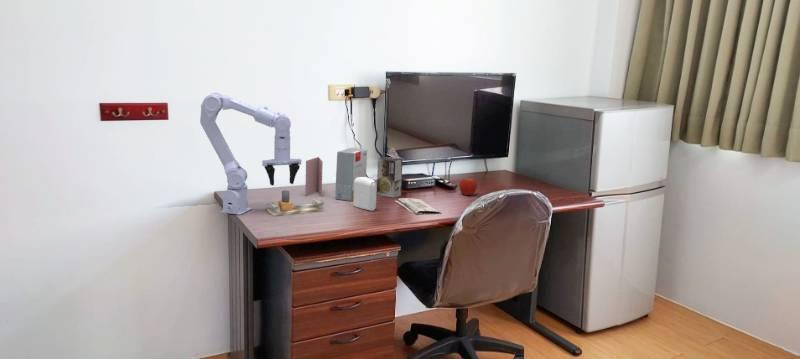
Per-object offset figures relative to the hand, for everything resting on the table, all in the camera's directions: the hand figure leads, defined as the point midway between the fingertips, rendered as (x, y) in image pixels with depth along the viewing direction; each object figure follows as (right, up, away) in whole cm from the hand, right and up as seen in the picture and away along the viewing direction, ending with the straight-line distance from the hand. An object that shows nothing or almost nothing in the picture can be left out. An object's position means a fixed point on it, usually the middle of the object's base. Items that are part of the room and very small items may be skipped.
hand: (281, 184), depth 236 cm
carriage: (+1, -9, 0) cm, 9 cm away
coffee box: (+39, -5, +37) cm, 54 cm away
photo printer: (+30, -10, +13) cm, 34 cm away
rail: (+5, -10, +3) cm, 12 cm away
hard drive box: (+23, -6, +31) cm, 39 cm away
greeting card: (+9, -5, +32) cm, 34 cm away
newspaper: (+51, -10, +18) cm, 55 cm away
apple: (+74, -5, +45) cm, 87 cm away
